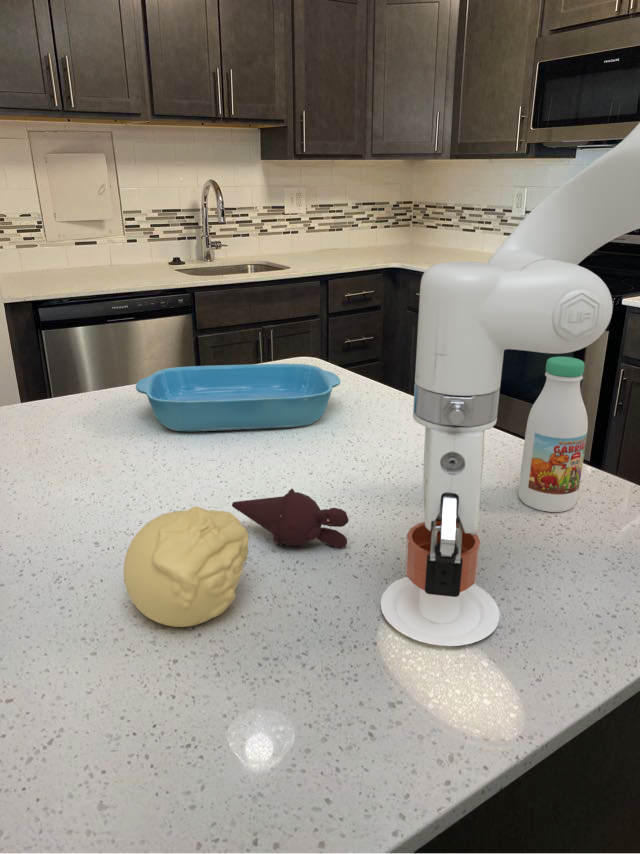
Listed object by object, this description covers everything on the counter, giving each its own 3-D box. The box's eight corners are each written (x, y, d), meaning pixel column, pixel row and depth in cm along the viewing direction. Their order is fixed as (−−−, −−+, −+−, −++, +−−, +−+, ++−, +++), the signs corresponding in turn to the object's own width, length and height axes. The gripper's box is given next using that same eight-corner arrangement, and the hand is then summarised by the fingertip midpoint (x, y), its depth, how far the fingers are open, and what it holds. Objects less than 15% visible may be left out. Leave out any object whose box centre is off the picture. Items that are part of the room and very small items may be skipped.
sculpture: (199, 658, 62) (191, 558, 58) (105, 618, 67) (93, 525, 63) (267, 594, 71) (264, 505, 67) (180, 564, 77) (173, 479, 73)
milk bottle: (506, 499, 92) (522, 359, 85) (536, 483, 97) (554, 349, 89) (557, 519, 86) (578, 372, 79) (586, 501, 91) (609, 360, 84)
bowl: (467, 558, 70) (471, 520, 68) (482, 597, 63) (487, 557, 62) (401, 558, 70) (403, 520, 68) (409, 597, 63) (412, 557, 62)
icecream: (216, 502, 77) (339, 532, 73) (242, 464, 83) (357, 490, 79) (221, 544, 81) (338, 574, 78) (246, 504, 87) (355, 531, 83)
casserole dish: (328, 391, 136) (328, 358, 134) (350, 431, 116) (351, 392, 113) (144, 401, 131) (141, 366, 128) (133, 443, 110) (129, 403, 108)
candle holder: (384, 574, 75) (385, 541, 73) (493, 584, 73) (497, 550, 71) (376, 645, 64) (377, 607, 62) (505, 658, 62) (509, 619, 60)
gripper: (506, 442, 51) (485, 628, 58) (492, 377, 67) (476, 529, 74) (408, 435, 53) (398, 618, 59) (417, 373, 69) (409, 523, 75)
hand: (442, 567), depth 66 cm, fingers open, 8 cm apart
